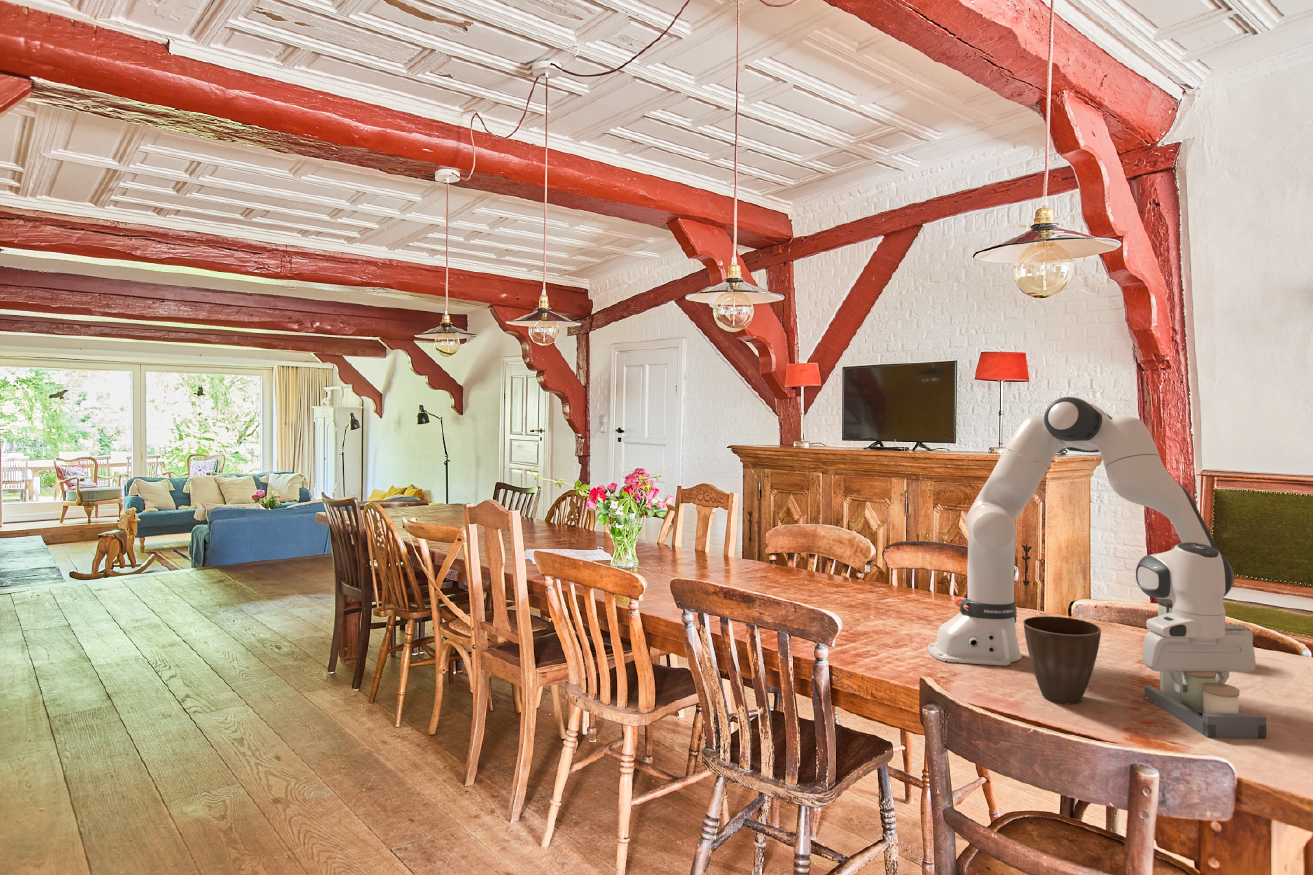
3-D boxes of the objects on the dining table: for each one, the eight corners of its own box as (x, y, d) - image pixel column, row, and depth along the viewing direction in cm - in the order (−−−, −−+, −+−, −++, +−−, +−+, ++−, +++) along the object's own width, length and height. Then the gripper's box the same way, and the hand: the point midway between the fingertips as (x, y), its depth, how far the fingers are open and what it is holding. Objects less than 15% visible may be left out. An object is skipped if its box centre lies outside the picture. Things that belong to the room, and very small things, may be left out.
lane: (1207, 737, 144) (1207, 716, 143) (1144, 697, 164) (1144, 679, 164) (1266, 738, 143) (1266, 717, 143) (1195, 697, 164) (1195, 679, 164)
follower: (1163, 702, 161) (1163, 669, 161) (1153, 696, 164) (1153, 664, 164) (1197, 702, 160) (1196, 669, 160) (1186, 696, 164) (1186, 664, 164)
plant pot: (1118, 707, 159) (1118, 631, 159) (1057, 714, 156) (1056, 636, 156) (1066, 683, 174) (1065, 614, 173) (1008, 689, 171) (1008, 618, 170)
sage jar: (1175, 703, 158) (1175, 664, 158) (1204, 703, 157) (1204, 665, 157) (1193, 713, 152) (1192, 673, 152) (1223, 714, 151) (1223, 674, 151)
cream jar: (1214, 734, 145) (1214, 692, 145) (1195, 722, 151) (1195, 682, 151) (1246, 734, 145) (1246, 692, 144) (1226, 722, 150) (1226, 682, 150)
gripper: (1241, 620, 157) (1241, 686, 157) (1138, 620, 158) (1138, 686, 159) (1263, 628, 150) (1263, 698, 151) (1155, 628, 152) (1156, 697, 152)
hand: (1198, 691), depth 155 cm, fingers closed on sage jar, 5 cm apart
